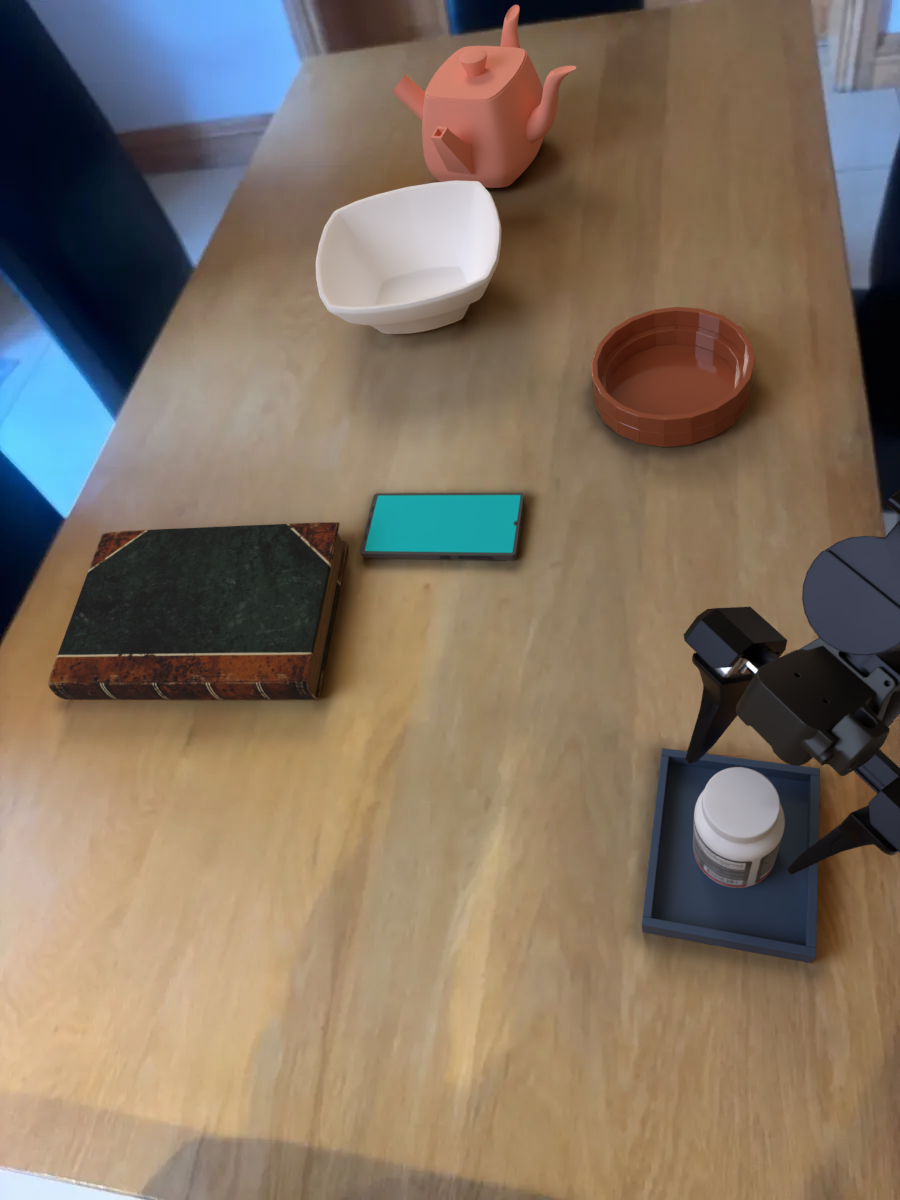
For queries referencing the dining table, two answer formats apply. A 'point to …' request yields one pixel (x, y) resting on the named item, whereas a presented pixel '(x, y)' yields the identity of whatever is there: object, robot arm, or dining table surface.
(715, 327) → the terracotta bowl
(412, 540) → the smartphone
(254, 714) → the dining table surface
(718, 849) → the pill bottle
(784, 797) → the tray
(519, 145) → the teapot
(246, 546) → the book
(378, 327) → the bowl
